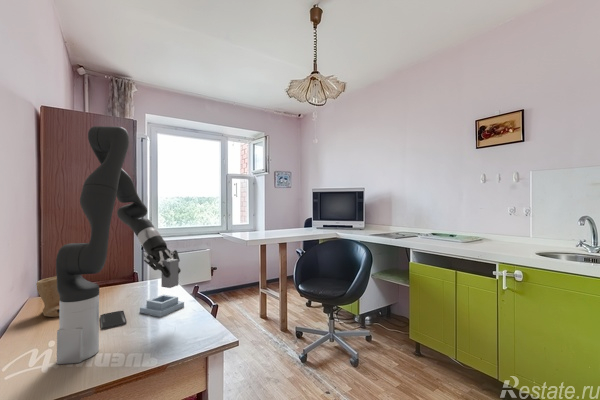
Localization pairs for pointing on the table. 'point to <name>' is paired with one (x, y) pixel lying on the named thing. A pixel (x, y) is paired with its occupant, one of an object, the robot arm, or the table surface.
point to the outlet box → (161, 305)
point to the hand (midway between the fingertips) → (173, 274)
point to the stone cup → (49, 296)
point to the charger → (173, 269)
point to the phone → (112, 319)
